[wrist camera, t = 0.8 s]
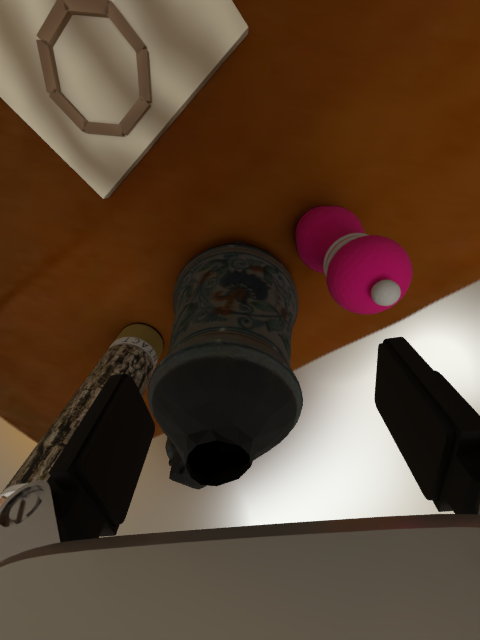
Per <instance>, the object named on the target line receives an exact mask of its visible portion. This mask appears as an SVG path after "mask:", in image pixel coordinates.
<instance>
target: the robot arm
mask: <svg viewBox="0 0 480 640" xmlns="http://www.w3.org/2000/svg"><path fill="white" fill-rule="evenodd" d="M375 403H376V407H377V409H378V411H379V413H380V414H381V416H382V418H383V420H384V422H385V424H386V426H387V427H388V429H389V431H390V433H391V435H392V437H393V439H394V441H395V442H396V444H397V446H398V448H399V450H400V452H401V454H402V455H403V457H404V459H405V461H406V463H407V465H408V467H409V468H410V470H411V472H412V474H413V476H414V478H415V480H416V482H417V483H418V485H419V487H420V489H421V491H422V493H423V494H424V496H425V497H426V499H427V500H433V502H434V504H435V506H436V507H437V509H438V511H439V512H442V511H454V513H455V514H431V515H410V516H390V517H374V518H359V519H343V520H328V521H313V522H298V523H284V524H272V525H271V524H270V525H256V526H242V527H229V528H216V529H202V530H189V531H176V532H164V533H150V534H137V535H125V536H114V535H116V533H117V530H118V527H119V524H122V523H123V521H124V519H125V517H126V515H127V512H128V509H129V506H130V503H131V500H132V497H133V494H134V491H135V488H136V485H137V482H138V479H139V476H140V473H141V470H142V467H143V464H144V462H145V459H146V455H147V453H148V450H149V447H150V444H151V440H152V438H153V435H154V432H155V425H154V422H153V420H152V417H151V415H150V413H149V411H148V409H147V407H146V404H145V402H144V400H143V398H142V396H141V394H140V391H139V389H138V387H137V385H136V383H135V381H134V379H133V377H131V376H130V377H129V375H128V374H117V375H112V376H110V377H109V378H108V380H107V381H106V383H105V385H104V386H103V388H102V389H101V391H100V392H99V394H98V396H97V397H96V399H95V400H94V402H93V403H92V405H91V407H90V408H89V410H88V411H87V413H86V414H85V416H84V417H83V419H82V421H81V422H80V424H79V425H78V427H77V428H76V430H75V432H74V433H73V435H72V436H71V438H70V439H69V441H68V443H67V444H66V446H65V447H64V449H63V450H62V452H61V454H60V455H59V457H58V458H57V460H56V461H55V463H54V464H53V466H52V468H51V469H50V471H49V472H48V473H49V474H50V477H49V478H48V480H47V481H44V480H37V481H33V482H30V483H28V484H26V485H24V486H22V487H20V488H19V489H18V490H16V491H15V492H14V493H12V494H11V495H10V496H9V497H8V498H7V499H6V500H5V501H4V502H3V504H2V505H1V506H0V640H480V416H479V415H478V413H477V412H476V411H475V410H474V409H473V408H472V407H471V406H470V405H469V404H468V403H467V402H466V401H465V399H464V398H462V396H461V395H460V394H459V393H458V392H457V391H456V390H455V389H454V388H453V386H452V385H451V384H450V383H449V382H448V381H447V380H446V379H445V378H444V377H443V376H442V375H441V374H440V373H439V372H437V371H433V369H432V368H431V367H430V366H429V365H428V364H427V363H426V362H425V361H424V360H423V358H422V357H421V356H420V355H419V354H418V353H417V352H416V351H415V350H414V349H413V348H412V346H411V345H410V344H409V343H408V342H407V341H406V340H405V339H404V338H403V337H397V338H389V339H385V340H384V341H383V343H382V344H379V347H378V359H377V373H376V387H375ZM99 536H114V537H104V538H99Z"/></svg>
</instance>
